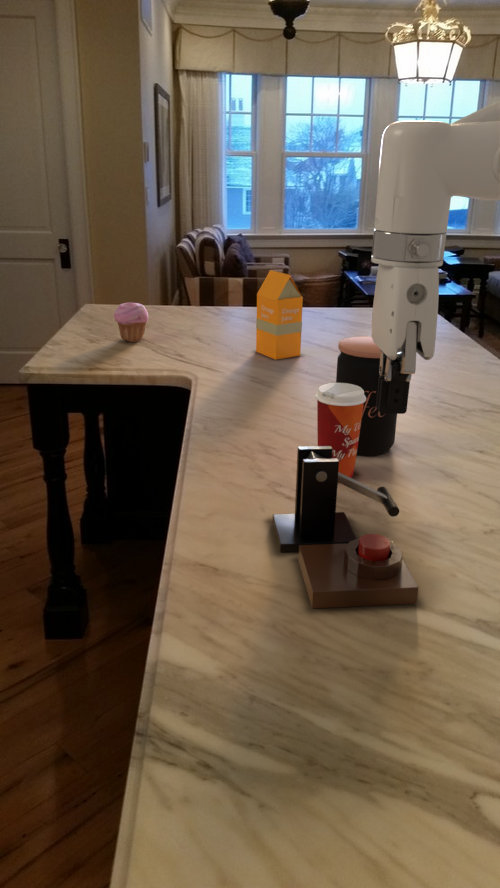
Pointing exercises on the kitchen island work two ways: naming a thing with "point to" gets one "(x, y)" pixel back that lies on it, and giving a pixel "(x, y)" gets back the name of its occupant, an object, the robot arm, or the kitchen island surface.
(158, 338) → the kitchen island surface
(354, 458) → the paper cup
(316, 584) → the button block
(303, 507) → the bracket
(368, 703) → the kitchen island surface
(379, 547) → the button
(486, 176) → the robot arm
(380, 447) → the coffee jar
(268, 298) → the orange juice
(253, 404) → the kitchen island surface
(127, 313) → the cupcake
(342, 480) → the tap lever
